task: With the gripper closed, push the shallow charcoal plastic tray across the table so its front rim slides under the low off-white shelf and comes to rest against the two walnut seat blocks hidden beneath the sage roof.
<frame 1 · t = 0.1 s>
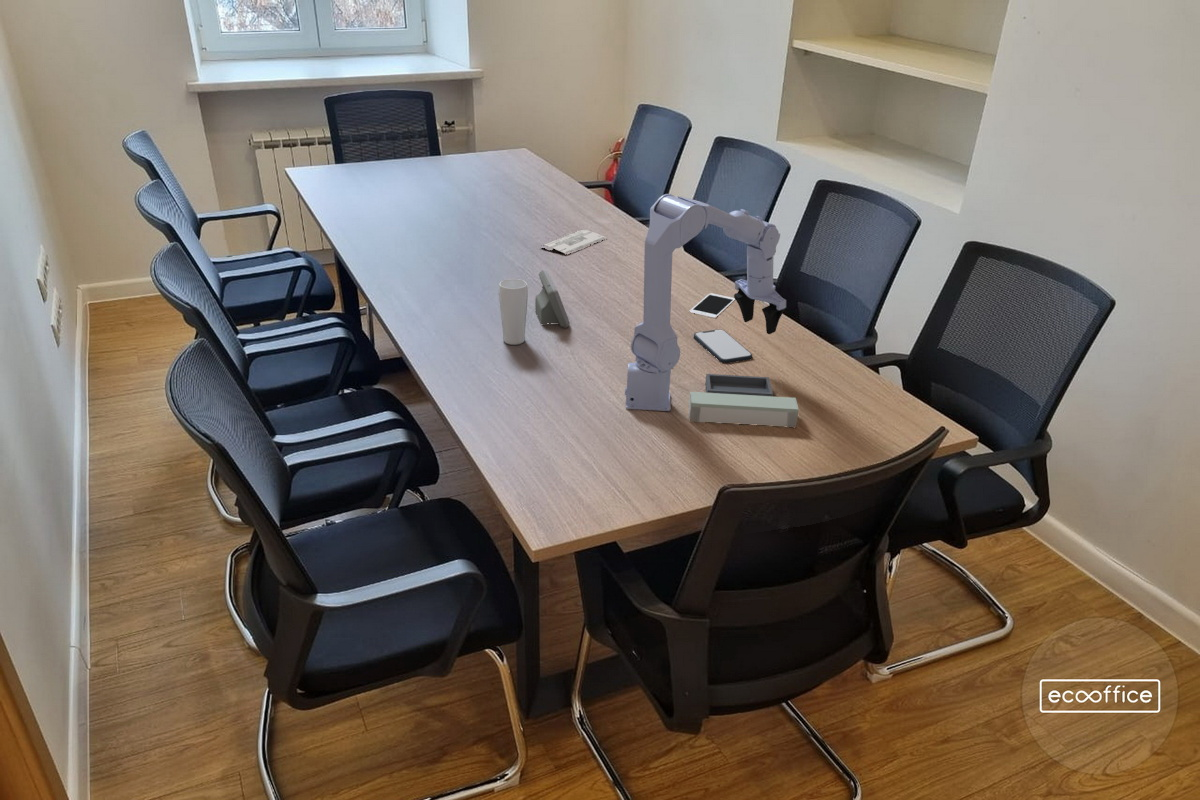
hand: (759, 326, 200), 10 cm above the table, tool pointing down, fingers open, 7 cm apart
shell tray: (737, 394, 193), on the table
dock: (741, 416, 184), on the table
newspaper: (571, 246, 280), on the table
digital clock: (553, 318, 227), on the table
phone case: (721, 350, 214), on the table
drinking glass: (514, 341, 214), on the table
cell phone: (712, 307, 238), on the table
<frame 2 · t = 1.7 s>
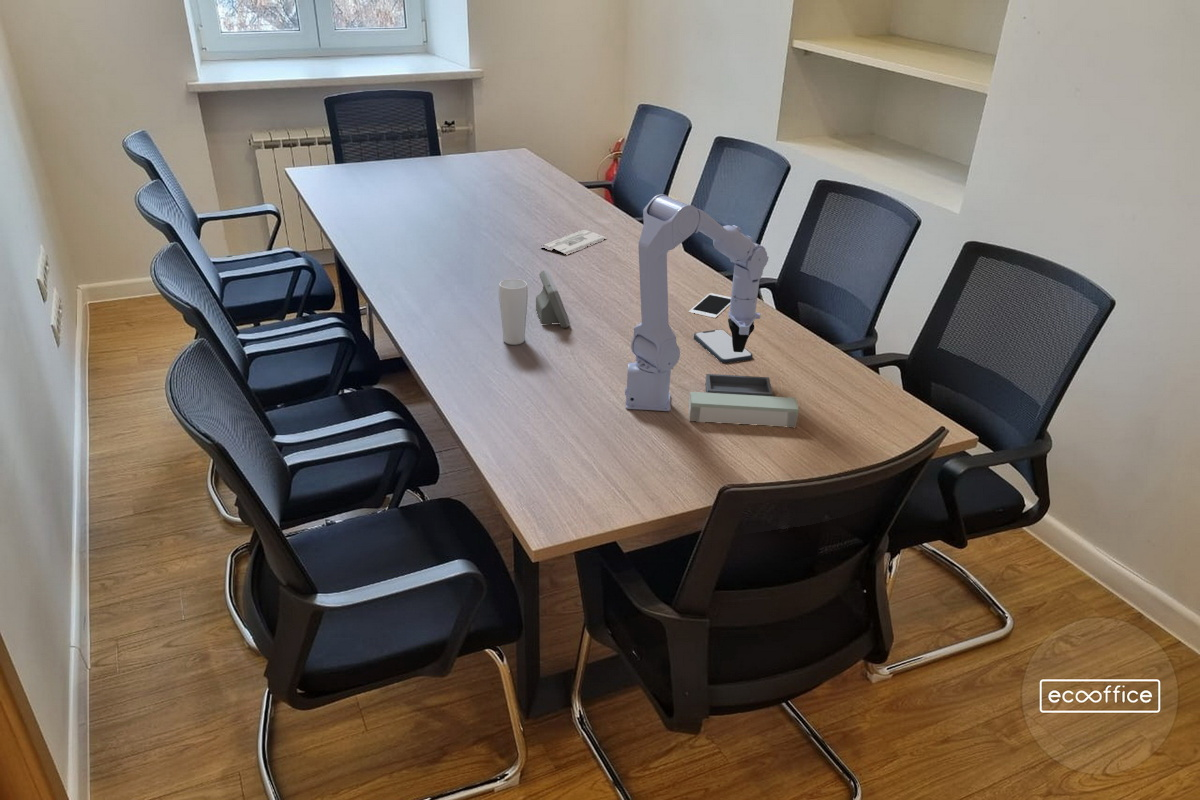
hand: (737, 350, 198), 6 cm above the table, tool pointing down, fingers closed
nothing on the table moved.
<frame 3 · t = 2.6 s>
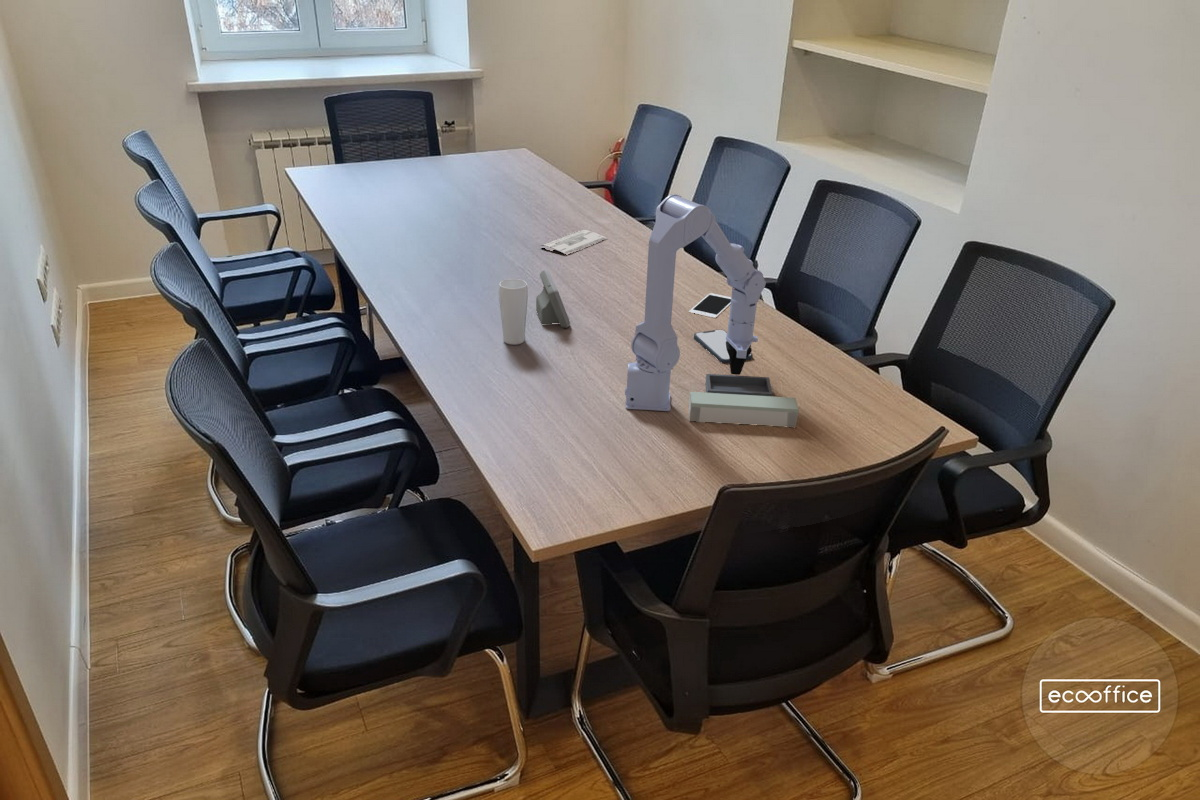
hand: (735, 373, 200), 1 cm above the table, tool pointing down, fingers closed
nothing on the table moved.
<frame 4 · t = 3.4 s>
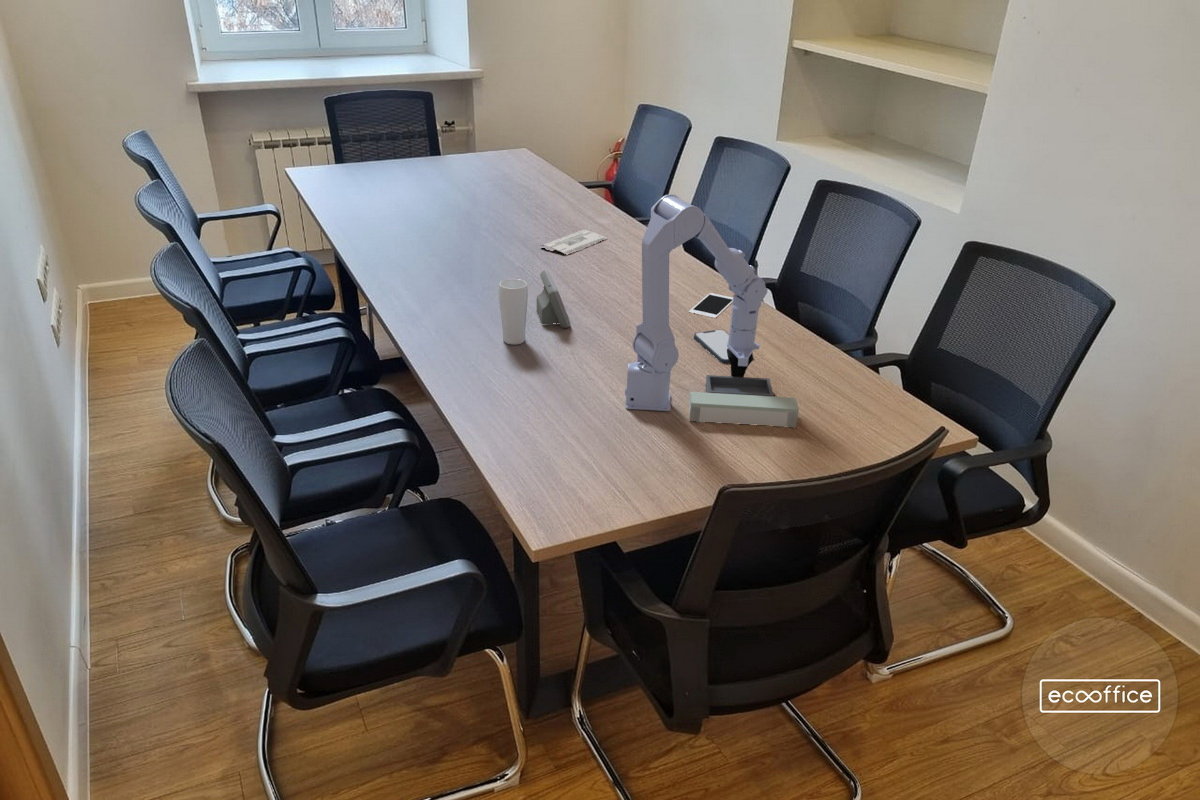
hand: (736, 380, 196), 1 cm above the table, tool pointing down, fingers closed
shell tray: (738, 395, 192), on the table, touching gripper
everything else where it was.
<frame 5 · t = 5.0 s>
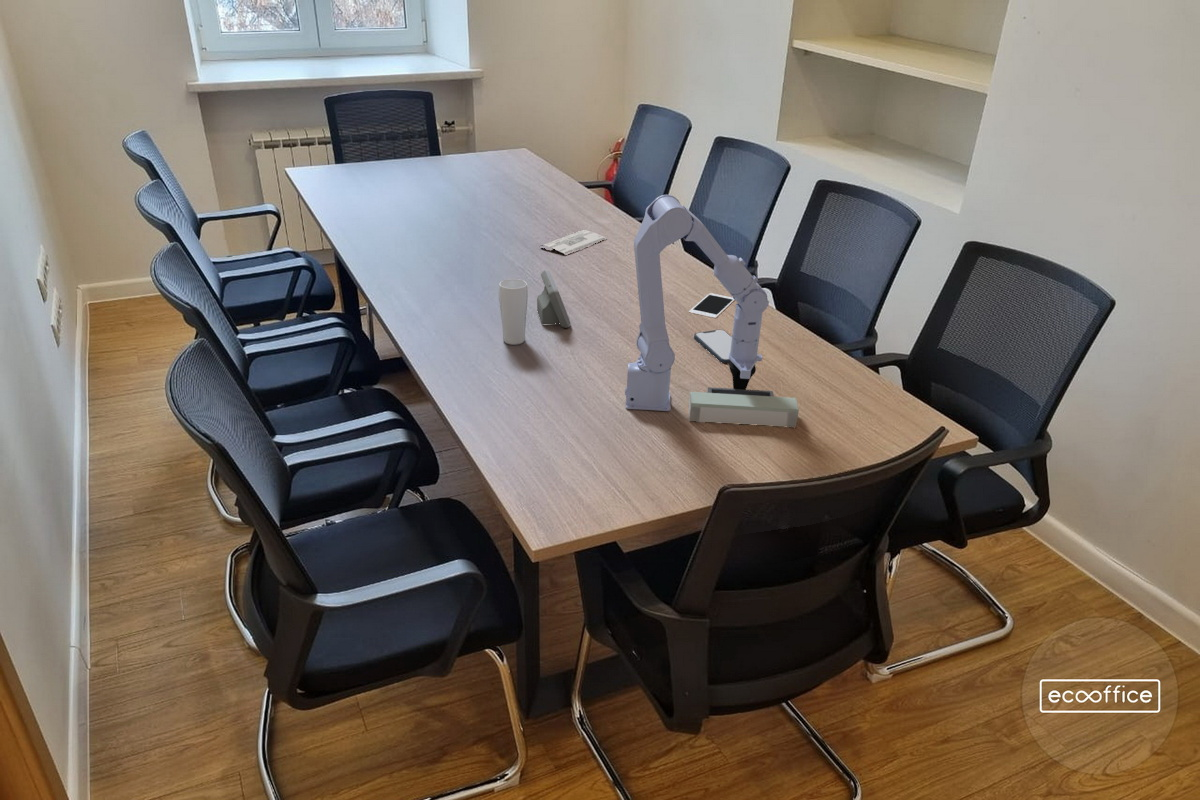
hand: (738, 393, 191), 1 cm above the table, tool pointing down, fingers closed
shell tray: (740, 408, 187), on the table, touching gripper
everything else where it was.
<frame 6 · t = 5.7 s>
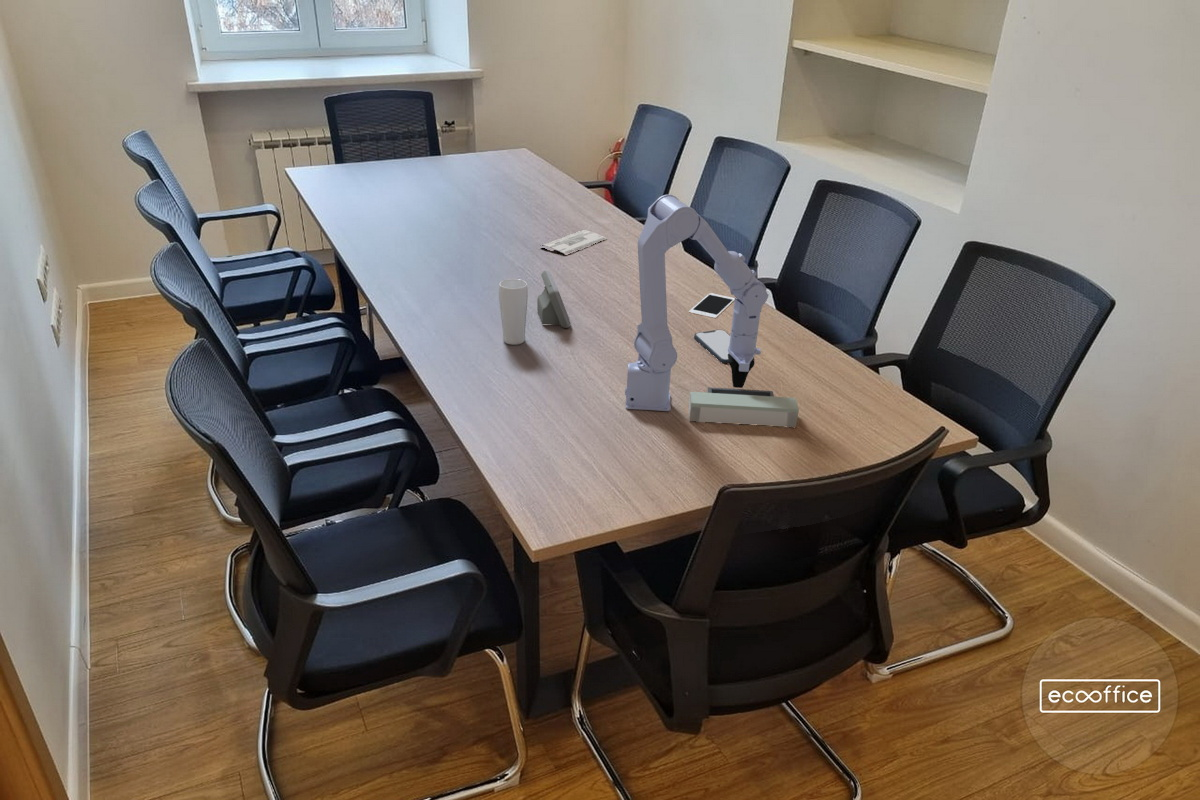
hand: (737, 386, 194), 1 cm above the table, tool pointing down, fingers closed
shell tray: (740, 408, 187), on the table
everything else where it was.
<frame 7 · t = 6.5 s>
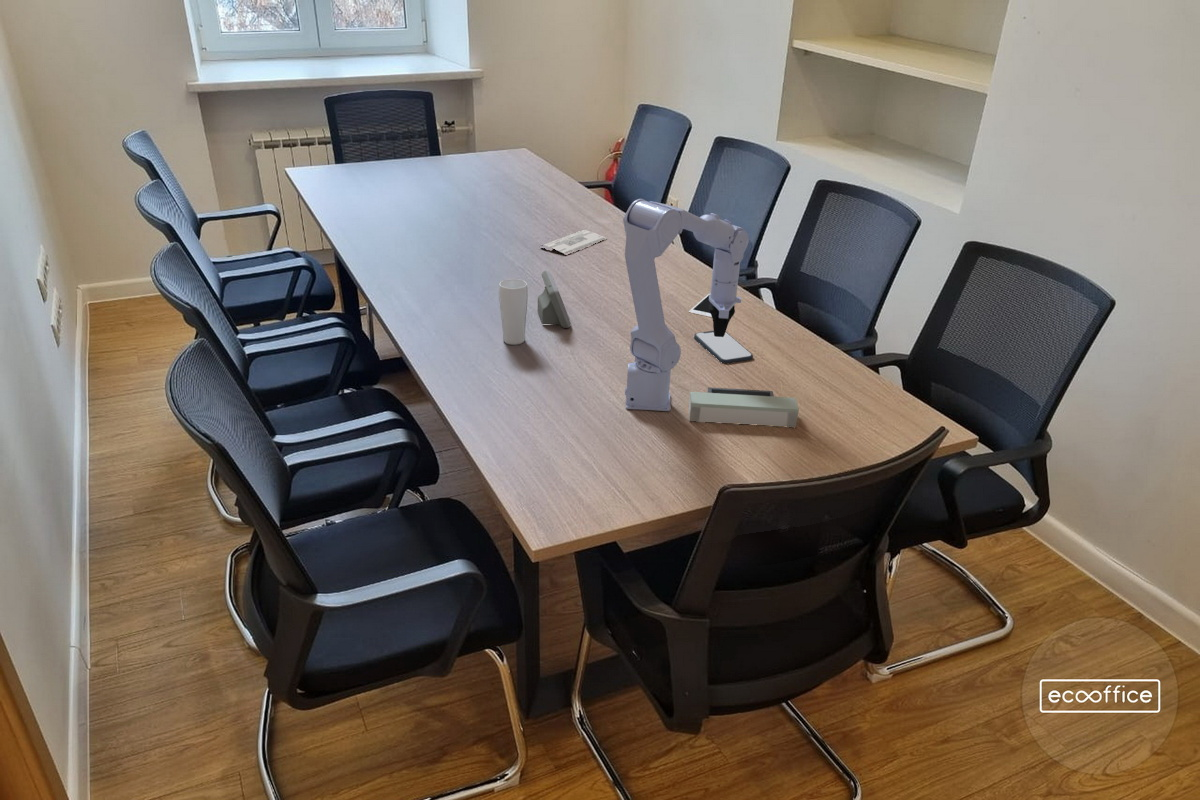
hand: (718, 335, 196), 10 cm above the table, tool pointing down, fingers closed
nothing on the table moved.
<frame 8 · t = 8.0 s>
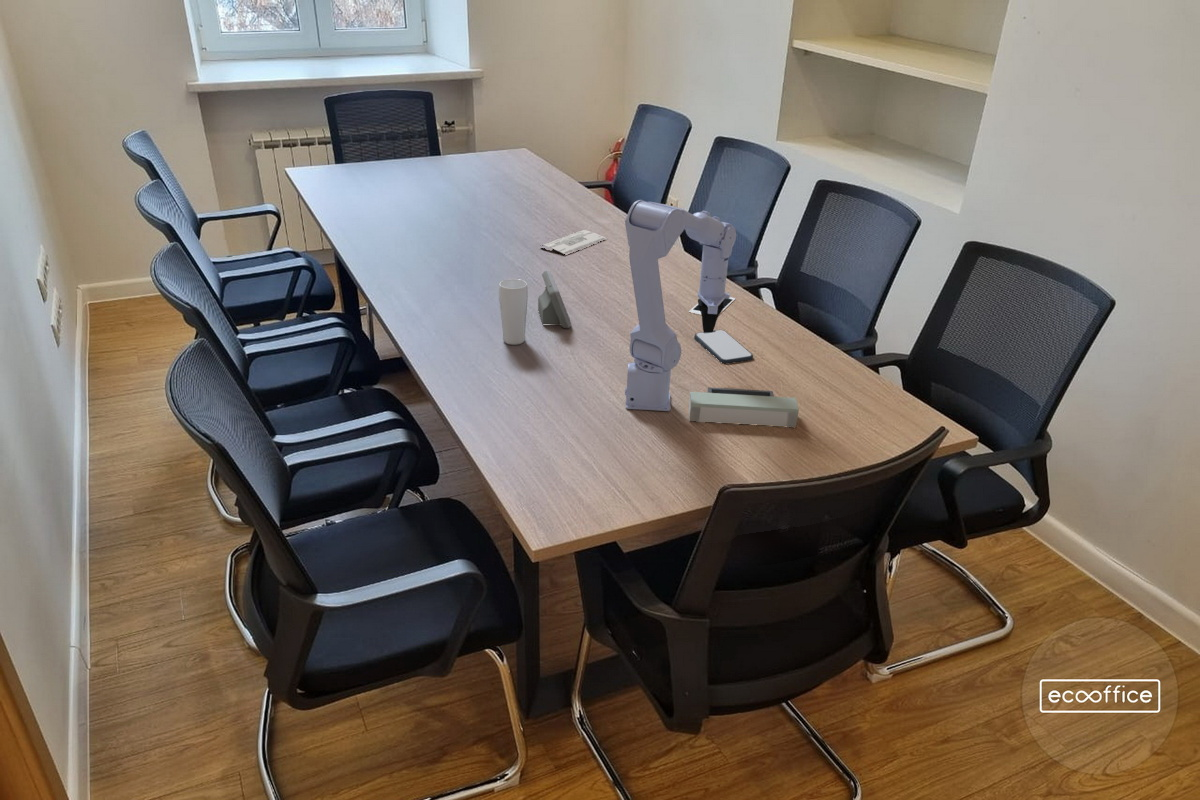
hand: (707, 331, 198), 10 cm above the table, tool pointing down, fingers closed
nothing on the table moved.
at the end: shell tray 0.1 cm from the target spot on the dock, point 0.0 cm above the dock's base; shell tray tilted 0° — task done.
